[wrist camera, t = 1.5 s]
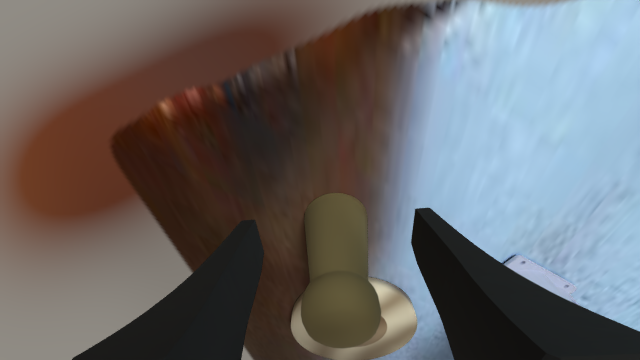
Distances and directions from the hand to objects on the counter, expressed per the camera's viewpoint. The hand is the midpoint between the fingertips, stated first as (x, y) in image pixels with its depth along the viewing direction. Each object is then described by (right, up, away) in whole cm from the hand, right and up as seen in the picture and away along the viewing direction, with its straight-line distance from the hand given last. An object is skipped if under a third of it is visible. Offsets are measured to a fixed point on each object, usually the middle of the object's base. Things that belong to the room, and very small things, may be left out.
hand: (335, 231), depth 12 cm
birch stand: (+3, -15, +21) cm, 26 cm away
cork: (+1, -1, +13) cm, 14 cm away
